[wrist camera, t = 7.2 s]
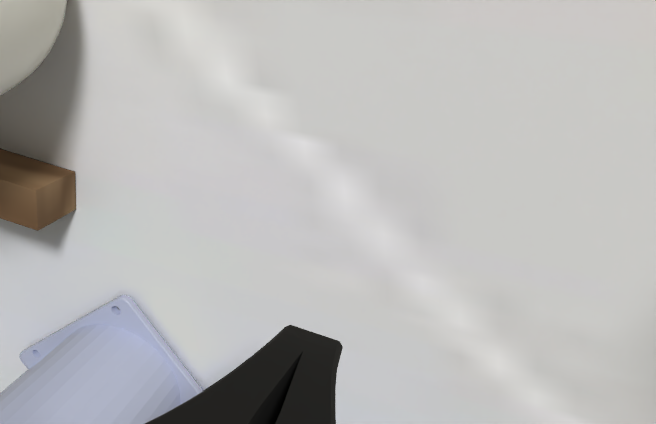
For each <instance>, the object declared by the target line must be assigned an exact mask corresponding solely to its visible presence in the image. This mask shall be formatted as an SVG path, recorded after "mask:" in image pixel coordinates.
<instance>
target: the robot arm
mask: <svg viewBox="0 0 656 424" xmlns="http://www.w3.org/2000/svg"><path fill="white" fill-rule="evenodd" d="M117 307H118V308H119V309H120V310H119V309H118V308H117ZM341 351H342V345H341V343H340V342H339V341H337V340H334V339H331V338H328V337H325V336H322V335H319V334H316V333H313V332H310V331H307V330H304V329H301V328H298V327H295V326H292V325H289V326H287V327H285V328H284V329H283V330H282V331H281V332H279V333H278V334H277V335H276V336H275V337H274V338H273V339H272V340H271V341H270V342H268V343H267V344H266V345H265V346H264V347H263V348H261V349H260V350H259V351H258V352H256V353H255V354H254V355H253V356H252V357H250V358H249V359H248V360H246V361H245V362H244V363H242V364H241V365H240V366H238V367H237V368H236V369H234V370H233V371H232V372H230V373H229V374H228V375H226V376H225V377H223V378H222V379H220V380H219V381H217V382H216V383H214V384H213V385H211V386H210V387H208V388H207V389H205V390H204V391H203V390H202V389H201V387H200V386H199V385H198V384H197V382H196V381H195V380H194V378H193V377H192V376H191V374H190V373H189V372H188V371H187V369H186V368H185V367H184V365H183V364H182V363H181V362H180V360H179V359H178V358H177V356H176V355H175V354H174V352H173V351H172V350H171V349H170V347H169V346H168V345H167V343H166V342H165V341H164V340H163V338H162V337H161V336H160V334H159V333H158V332H157V330H156V329H155V328H154V327H153V325H152V324H151V323H150V321H149V320H148V319H147V318H146V316H145V315H144V314H143V312H142V311H141V310H140V308H139V307H138V306H137V305H136V303H135V302H134V301H133V299H132V298H130V297H129V296H127V295H121V296H119V297H117V298H115V299H113V300H112V301H110V302H108V303H106V304H105V305H103V306H101V307H99V308H97V309H96V310H94V311H92V312H90V313H89V314H87V315H85V316H83V317H81V318H80V319H78V320H76V321H74V322H72V323H71V324H69V325H67V326H65V327H64V328H62V329H60V330H58V331H56V332H55V333H53V334H51V335H49V336H48V337H46V338H44V339H42V340H40V341H39V342H37V343H35V344H33V345H31V346H30V347H28V348H26V349H25V350H23V351H22V352H21V353H20V360H21V361H22V362H23V364H24V365H25V366H26V367H27V368H28V370H27V371H26V372H25V373H24V374H22V375H21V376H20V377H19V378H18V379H16V380H15V381H14V382H13V383H12V384H11V385H9V386H8V387H7V388H6V389H5V390H4V391H2V392H1V393H0V424H336V420H335V385H336V373H337V367H338V363H339V359H340V355H341Z"/></svg>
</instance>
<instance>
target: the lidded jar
mask: <svg viewBox="0 0 656 424" xmlns="http://www.w3.org/2000/svg"><path fill="white" fill-rule="evenodd" d="M66 5H67V0H0V95H2V94H4V93H5V92H7V91H9V90H10V89H12V88H13V87H15V86H17V85H18V84H20V83H21V82H22V81H23V80H24V79H26V78H27V77H28V76H29V75H30V74H31V73H32V72H33V71H34V70H35V69H36V68H37V67H38V66H39V65H40V64H41V63H42V62H43V60H44V59H45V58H46V57H47V55H48V54H49V52H50V50H51V48H52V46H53V45H54V43H55V41H56V39H57V37H58V35H59V33H60V30H61V27H62V24H63V21H64V18H65V12H66Z"/></svg>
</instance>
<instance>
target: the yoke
mask: <svg viewBox="0 0 656 424" xmlns="http://www.w3.org/2000/svg"><path fill="white" fill-rule="evenodd" d="M74 210H76V192H75V172H74V171H71V170H67V169H64V168H61V167H58V166H54V165H51V164H48V163H45V162H41V161H38V160H35V159H32V158H28V157H25V156H22V155H19V154H15V153H12V152H9V151H6V150H2V149H0V218H1V219H4V220H7V221H10V222H13V223H16V224H19V225H22V226H25V227H28V228H32V229H35V230H40V229H42V228H44V227H45V226H47V225H49V224H51V223H53V222H54V221H56V220H58V219H60V218H61V217H63V216H65V215H67V214H68V213H70V212H72V211H74Z"/></svg>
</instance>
